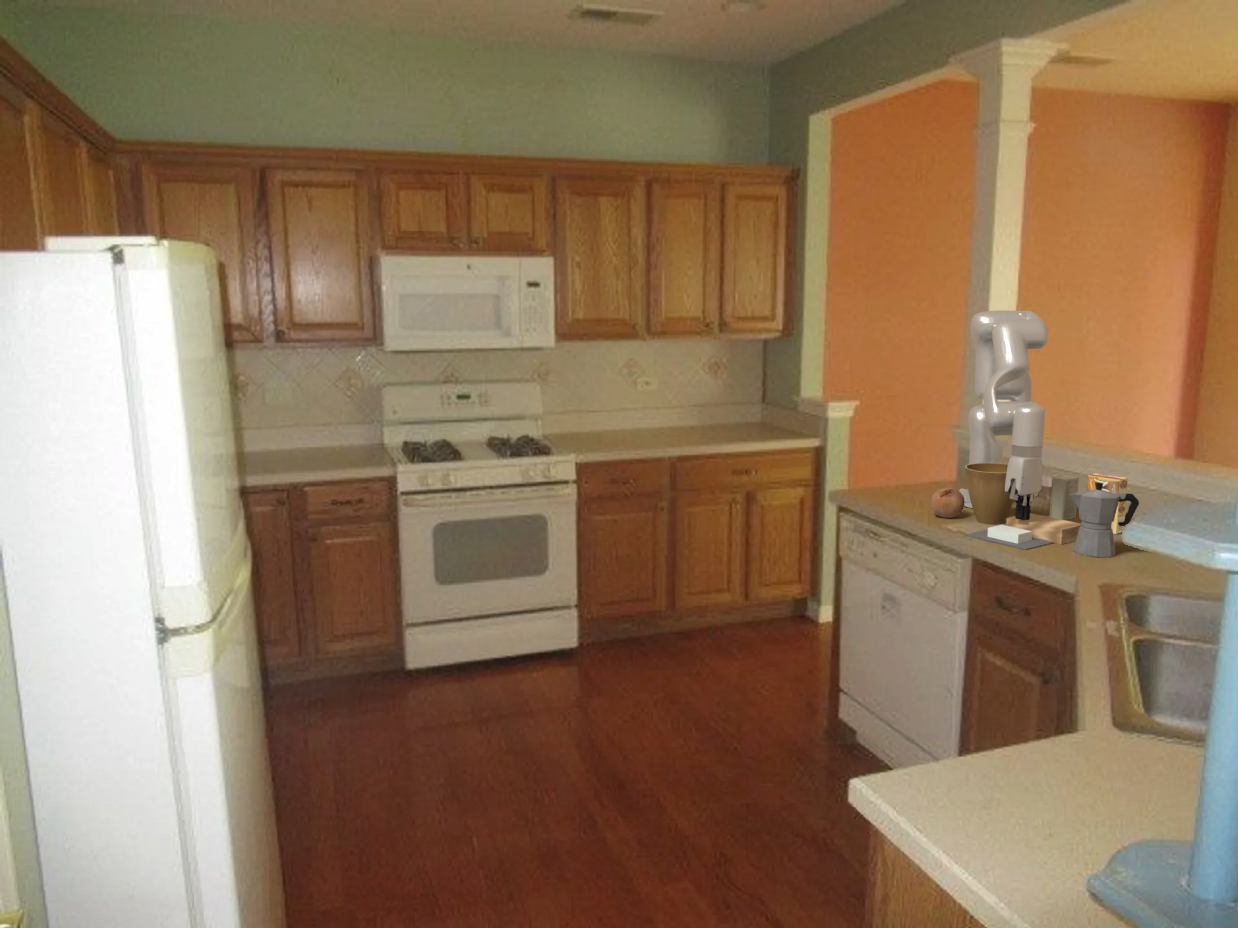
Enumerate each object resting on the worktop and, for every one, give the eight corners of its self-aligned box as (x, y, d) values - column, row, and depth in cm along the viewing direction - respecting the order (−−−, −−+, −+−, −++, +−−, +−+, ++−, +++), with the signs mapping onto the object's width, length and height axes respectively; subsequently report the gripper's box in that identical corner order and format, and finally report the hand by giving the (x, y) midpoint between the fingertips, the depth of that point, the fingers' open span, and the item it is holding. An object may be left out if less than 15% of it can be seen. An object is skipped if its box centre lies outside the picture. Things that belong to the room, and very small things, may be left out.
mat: (965, 535, 240) (965, 534, 240) (993, 529, 246) (993, 528, 246) (1025, 550, 225) (1025, 548, 225) (1053, 542, 231) (1053, 541, 231)
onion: (948, 529, 258) (949, 503, 253) (923, 515, 265) (923, 489, 260) (971, 515, 262) (972, 488, 256) (945, 501, 269) (946, 475, 263)
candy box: (1124, 532, 241) (1128, 477, 238) (1115, 535, 238) (1120, 479, 236) (1091, 526, 248) (1096, 472, 245) (1083, 528, 246) (1087, 474, 243)
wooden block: (1006, 532, 243) (1006, 517, 242) (1028, 527, 248) (1029, 513, 247) (1061, 544, 229) (1062, 529, 229) (1083, 538, 235) (1084, 524, 234)
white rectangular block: (1001, 524, 240) (1001, 533, 241) (987, 527, 237) (987, 536, 238) (1032, 531, 233) (1031, 540, 233) (1018, 534, 230) (1017, 543, 230)
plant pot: (957, 515, 263) (960, 462, 261) (1010, 516, 261) (1014, 463, 258) (968, 527, 249) (971, 471, 246) (1024, 528, 246) (1028, 472, 244)
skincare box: (1063, 515, 262) (1066, 474, 259) (1076, 518, 258) (1079, 477, 256) (1048, 517, 259) (1051, 476, 257) (1062, 520, 255) (1065, 479, 253)
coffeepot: (1066, 555, 219) (1072, 484, 216) (1062, 546, 228) (1067, 477, 225) (1137, 561, 214) (1144, 488, 211) (1130, 551, 223) (1136, 481, 220)
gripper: (1030, 447, 241) (1026, 513, 245) (996, 452, 234) (992, 520, 237) (1056, 450, 235) (1051, 518, 238) (1022, 456, 227) (1017, 525, 231)
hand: (1022, 519), depth 238 cm, fingers closed
